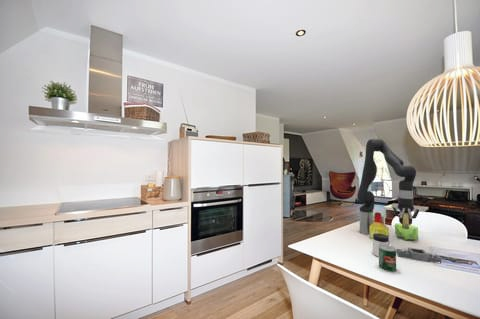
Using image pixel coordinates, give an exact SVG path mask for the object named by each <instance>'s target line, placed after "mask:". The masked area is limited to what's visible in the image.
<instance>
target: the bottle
mask: <svg viewBox="0 0 480 319" xmlns="http://www.w3.org/2000/svg"><path fill="white" fill-rule="evenodd" d="M369 230H370V235H369V236H370V238H371V239H373V234H384V235H387V236H388V237H389V236H390V233H389V231H390V230H389V227H388V226H386V224H384V223H383V219H382V214H381V212H377V211H376V212H375V213H373V223H372V224H371V225H370V227H369ZM389 238H390V237H389Z"/></svg>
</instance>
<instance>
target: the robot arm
mask: <svg viewBox="0 0 480 319" xmlns="http://www.w3.org/2000/svg"><path fill="white" fill-rule="evenodd" d="M375 152H378V153H381V154H383V155H384V159H385V161H386V163H387V164H388V165H389V166H390V167H392V170H393V171H394V174H396V175H397V176H398V177H400V178H404V179H403V180H402V179H401V180H400V181H399V182H398V193H397V194H398V195H397V196H398V199H397V200H398V201H397V202H398V205H397V206H392V210H393V212H394V215H395V216H396V217H398V222H399V223H401V224H402V216H403V214H404V213H409V225H412V224H413V220H414V219H417V217H418V215H419V212H420V209H419V208H415V207H414V190H413V189H414V188H413V186H414V185H413V184H414V182H415V179H416V176H417V170H416V168H415V167H414V166H412V165H404V163H405V162H404V160H402V158H400V157H399V156H398V155H396V154H395V153H394V152H393V151H392V150H391V148H390V147H389V146H388V145H387V143H386V142H385V141H384V140H382V139H381V138H380V139H379V138H377V139H375V138H371V139H368V140H367V142H366V145H365V158H364V164H363V168H362V172H361V173H362V175H361V179H360V180H361V181H360V184H359V186H358V191H357V193H356V194H357V195H356V198H357V201H358V203H360V204H362V205H361V206H360V207H359V233H360V234H363V235H369V236H370V230H369V227H370V225H371V224H372V223H373V222H374V208H375V194H374V193H373V192H372V191H371V190H369V187H370V186H371V184H372V183H373V182H374V180H375V179H376V177H377V174H378V173H377V172H378V167H377V164H376V162H375V158H374V155H375ZM398 210H399V213H398ZM412 212H414V213H413V214H412Z"/></svg>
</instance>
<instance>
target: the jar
mask: <svg viewBox="0 0 480 319" xmlns="http://www.w3.org/2000/svg"><path fill="white" fill-rule="evenodd" d="M389 238H390V237H388V236H387V235H384V234H373V238H372V255H373V256H375V257H377V258H379V246H380V245H387V246H390V239H389Z"/></svg>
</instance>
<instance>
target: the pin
mask: <svg viewBox="0 0 480 319" xmlns="http://www.w3.org/2000/svg"><path fill="white" fill-rule="evenodd" d="M402 228H403V229H409V213H404V214H403V216H402Z"/></svg>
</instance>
